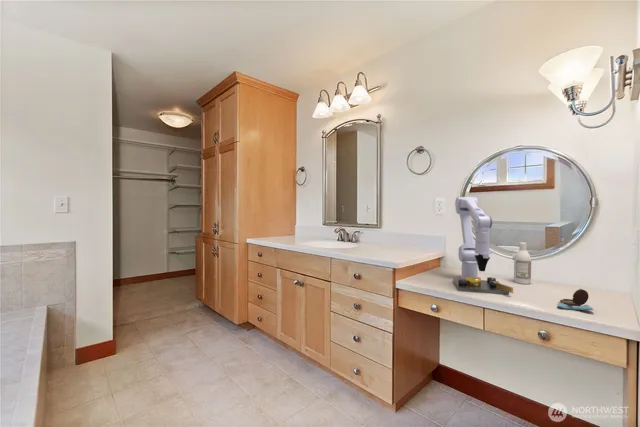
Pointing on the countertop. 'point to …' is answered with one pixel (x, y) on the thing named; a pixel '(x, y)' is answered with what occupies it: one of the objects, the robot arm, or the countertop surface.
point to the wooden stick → (501, 286)
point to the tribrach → (477, 285)
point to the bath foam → (522, 265)
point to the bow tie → (574, 307)
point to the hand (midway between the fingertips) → (481, 271)
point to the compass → (577, 298)
